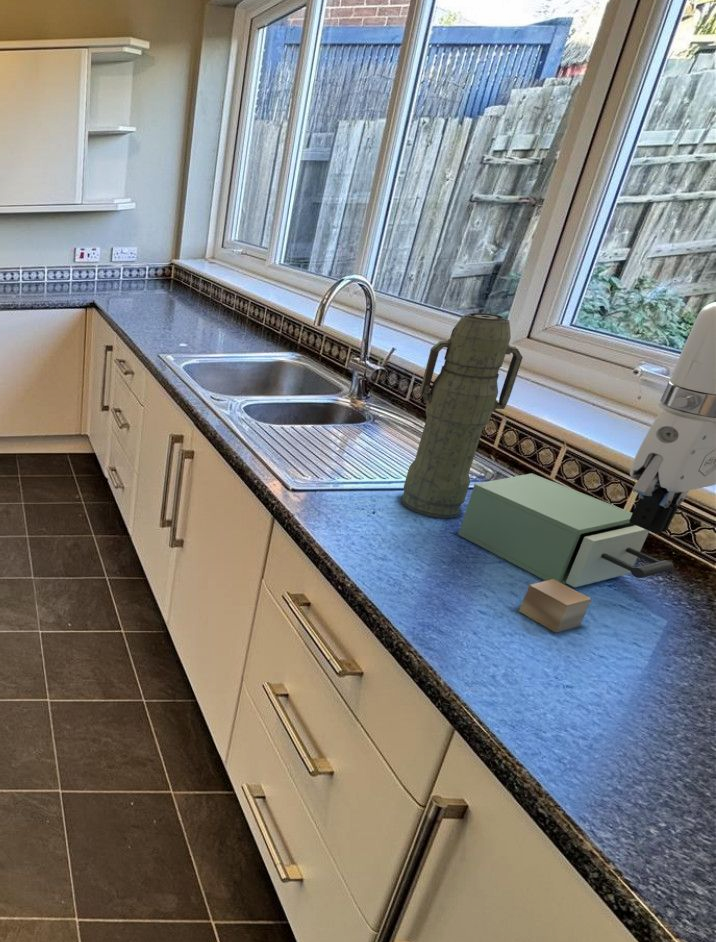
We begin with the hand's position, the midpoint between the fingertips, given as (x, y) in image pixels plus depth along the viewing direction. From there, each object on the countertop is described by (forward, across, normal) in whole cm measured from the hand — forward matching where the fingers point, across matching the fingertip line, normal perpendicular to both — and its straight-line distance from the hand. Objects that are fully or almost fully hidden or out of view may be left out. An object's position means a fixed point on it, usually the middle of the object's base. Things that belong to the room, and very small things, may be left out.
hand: (647, 527), depth 84 cm
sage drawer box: (+11, 0, +11) cm, 16 cm away
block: (+11, -15, -1) cm, 19 cm away
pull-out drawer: (+10, 0, +6) cm, 12 cm away
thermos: (+12, -2, +27) cm, 29 cm away
